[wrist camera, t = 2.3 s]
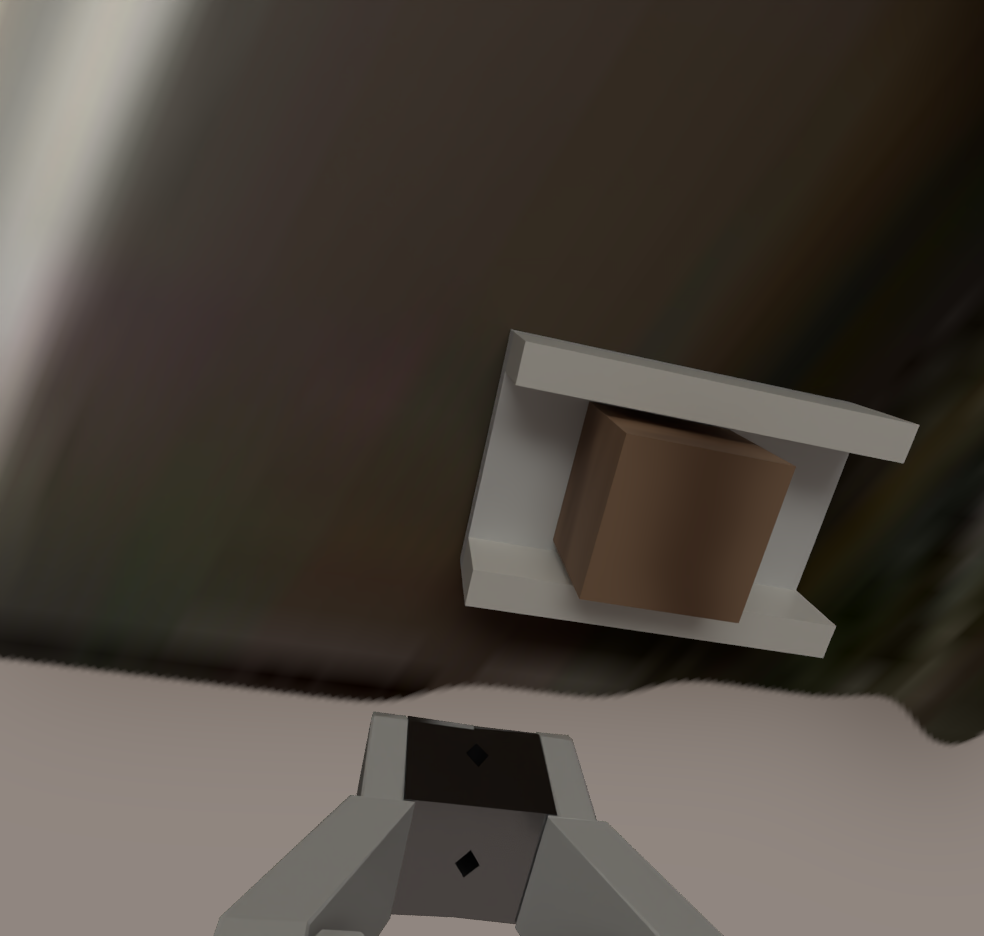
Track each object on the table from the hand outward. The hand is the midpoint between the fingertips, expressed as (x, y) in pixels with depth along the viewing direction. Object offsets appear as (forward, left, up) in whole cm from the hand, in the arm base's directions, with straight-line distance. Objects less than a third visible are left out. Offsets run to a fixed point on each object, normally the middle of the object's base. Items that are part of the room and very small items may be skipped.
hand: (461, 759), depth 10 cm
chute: (+9, 0, -18) cm, 20 cm away
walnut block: (+8, 0, -17) cm, 18 cm away
